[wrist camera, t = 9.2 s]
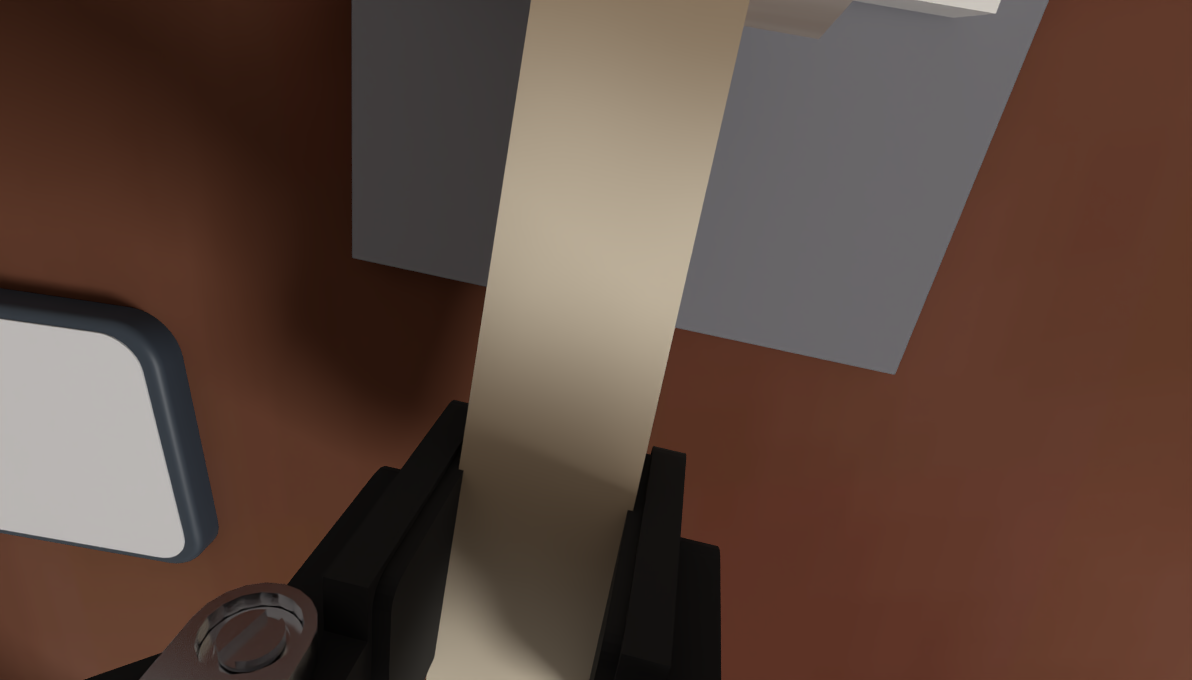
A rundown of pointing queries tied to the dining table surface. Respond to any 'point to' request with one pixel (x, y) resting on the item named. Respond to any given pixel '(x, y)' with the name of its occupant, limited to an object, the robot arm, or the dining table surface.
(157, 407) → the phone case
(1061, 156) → the dining table surface
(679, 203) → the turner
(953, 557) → the dining table surface
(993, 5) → the tile
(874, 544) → the dining table surface
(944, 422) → the dining table surface
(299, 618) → the robot arm
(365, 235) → the mat
